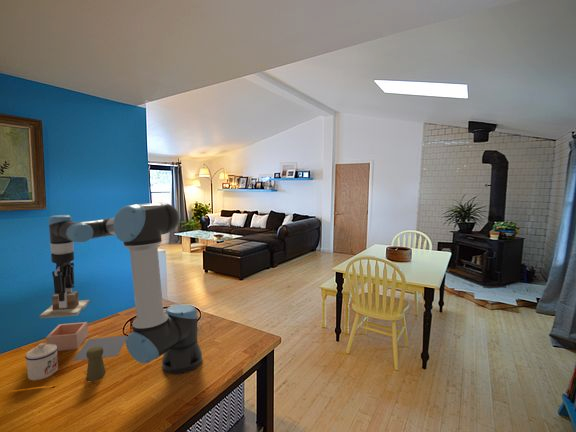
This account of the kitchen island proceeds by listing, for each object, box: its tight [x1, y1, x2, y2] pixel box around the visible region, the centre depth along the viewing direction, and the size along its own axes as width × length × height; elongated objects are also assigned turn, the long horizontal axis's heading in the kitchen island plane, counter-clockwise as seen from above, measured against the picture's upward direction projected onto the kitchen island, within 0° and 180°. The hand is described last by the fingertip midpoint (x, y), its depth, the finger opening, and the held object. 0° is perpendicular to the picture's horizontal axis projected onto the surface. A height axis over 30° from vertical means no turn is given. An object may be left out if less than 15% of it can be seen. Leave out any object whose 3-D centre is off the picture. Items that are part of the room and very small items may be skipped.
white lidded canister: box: [24, 342, 59, 381], centre depth 108 cm, size 12×9×12 cm
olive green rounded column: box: [86, 346, 107, 382], centre depth 107 cm, size 6×6×11 cm
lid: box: [39, 291, 91, 319], centre depth 124 cm, size 13×13×7 cm
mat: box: [72, 335, 127, 362], centre depth 124 cm, size 16×16×1 cm
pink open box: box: [45, 321, 89, 352], centre depth 126 cm, size 11×11×7 cm
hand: (66, 305), depth 124 cm, fingers closed on lid, 4 cm apart
